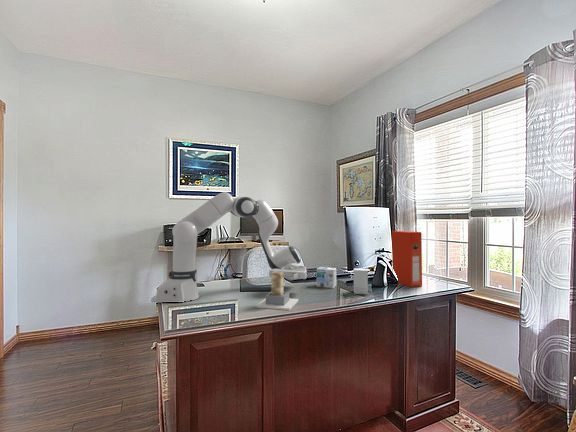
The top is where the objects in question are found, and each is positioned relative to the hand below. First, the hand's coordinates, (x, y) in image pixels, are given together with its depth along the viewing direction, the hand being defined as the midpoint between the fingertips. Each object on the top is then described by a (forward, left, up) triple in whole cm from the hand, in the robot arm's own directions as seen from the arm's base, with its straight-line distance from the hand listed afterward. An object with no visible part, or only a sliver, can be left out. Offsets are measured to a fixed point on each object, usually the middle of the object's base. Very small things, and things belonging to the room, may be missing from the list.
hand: (284, 276), depth 156 cm
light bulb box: (+26, +24, -11) cm, 37 cm away
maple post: (-3, -12, -10) cm, 16 cm away
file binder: (+76, +28, -11) cm, 82 cm away
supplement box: (+42, +8, -11) cm, 44 cm away
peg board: (-3, -12, -11) cm, 16 cm away
